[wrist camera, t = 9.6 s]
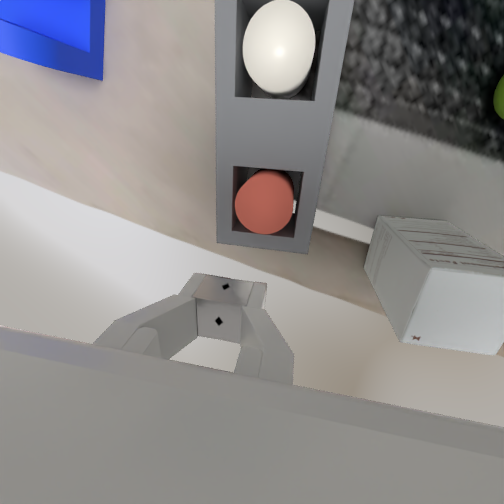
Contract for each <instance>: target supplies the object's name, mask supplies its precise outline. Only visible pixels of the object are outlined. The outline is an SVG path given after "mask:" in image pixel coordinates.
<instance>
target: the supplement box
mask: <svg viewBox="0 0 504 504" xmlns="http://www.w3.org/2000/svg"><path fill="white" fill-rule="evenodd" d="M364 270H365V272H366V274H367V276H368V278H369V280H370V282H371V284H372V286H373V288H374V290H375V292H376V294H377V297H378V299H379V301H380V303H381V305H382V307H383V309H384V311H385V313H386V315H387V317H388V319H389V321H390V323H391V325H392V327H393V329H394V331H395V333H396V336H397V337H398V339H399V341H400V342H404V343H409V344H415V345H421V346H428V347H436V348H443V349H451V350H457V351H464V352H472V353H479V354H487V355H495V354H496V353H497V352H498V350H499V349H500V347H501V346H502V344H503V343H504V256H502V255H501V254H499V253H497V252H496V251H494V250H492V249H491V248H489V247H488V246H486V245H484V244H483V243H481V242H479V241H478V240H476V239H475V238H473V237H472V236H470V235H468V234H467V233H465V232H463V231H462V230H460V229H459V228H457V227H455V226H454V225H452V224H451V223H449V222H447V221H441V220H429V219H417V218H405V217H393V216H378V218H377V221H376V225H375V228H374V232H373V236H372V239H371V243H370V246H369V250H368V254H367V257H366V261H365V265H364Z"/></svg>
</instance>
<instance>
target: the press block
mask: <svg viewBox="0 0 504 504" xmlns="http://www.w3.org/2000/svg"><path fill="white" fill-rule="evenodd" d="M271 1H274V0H215V92H216V222H217V243H221V244H229V245H237V246H245V247H253V248H261V249H269V250H277V251H285V252H293V253H301V254H308V250H309V245H310V239H311V234H312V228H313V223H314V217H315V212H316V206H317V201H318V195H319V190H320V184H321V179H322V174H323V168H324V163H325V157H326V152H327V146H328V141H329V135H330V130H331V124H332V119H333V113H334V108H335V102H336V97H337V92H338V86H339V81H340V75H341V70H342V64H343V59H344V53H345V48H346V42H347V37H348V31H349V26H350V21H351V15H352V10H353V4H354V0H290V1H293V2H295V3H297V4H298V5H300V6H301V7H302V8H303V9H304V10H305V11H306V13H307V14H308V15H309V17H310V19H311V22H312V24H313V28H314V30H321V35H320V42H319V48H318V55H317V62H316V69H315V76H314V83H313V90H312V97H311V101H302V100H284V99H265V98H251V92H252V78H251V77H250V75H249V73H248V71H247V69H246V66H245V63H244V59H243V40H244V35H245V31H246V29H247V26H248V24H249V22H250V20H251V18H252V17H253V16H254V14H255V13H256V12H257V11H258V10H259V9H260V8H261V7H262V6H264V5H265V4H267V3H269V2H271ZM248 167H254V168H266V169H278V170H289V171H301V174H300V181H299V188H298V195H297V202H296V209H295V214H294V213H292V216H291V218H290V220H289V222H288V223H287V224H286V225H285V226H284V227H283V228H282V229H281V230H279V231H277V232H275V233H271V234H258V233H255V232H252V231H250V230H249V229H247V228H246V227H245V226H244V225H243V224H242V223H241V222H240V220H239V219H238V217H237V214H236V211H235V199H236V196H237V193H238V191H239V190H240V188H241V187H242V186H243V185H244V184H245V183H246V182H247V174H248Z"/></svg>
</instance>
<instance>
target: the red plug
mask: <svg viewBox="0 0 504 504" xmlns="http://www.w3.org/2000/svg"><path fill="white" fill-rule="evenodd" d="M293 199H294V185H293V181H292V179H291V177H290V176H289V174H288V173H287V172H286V171H285V170H278V169H266V168H261V169H259V170H257V171H256V172H255V173H254V174H253V175H252V176H251V177H250V178H249V179H248V181H247V182H246V183H245V184H244V185H243V186H242V187H241V188H240V190H239V191H238V193H237V196H236V199H235V211H236V214H237V217H238V219H239V220H240V222H241V223H242V224H243V225H244V226H245V227H246V228H247V229H249V230H250V231H252V232H255V233H258V234H271V233H275V232H277V231H279V230H281V229H282V228H283V227H284V226H285V225H286V224H287V223H288V222H289V220H290V218H291V216H292V212H293Z"/></svg>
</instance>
